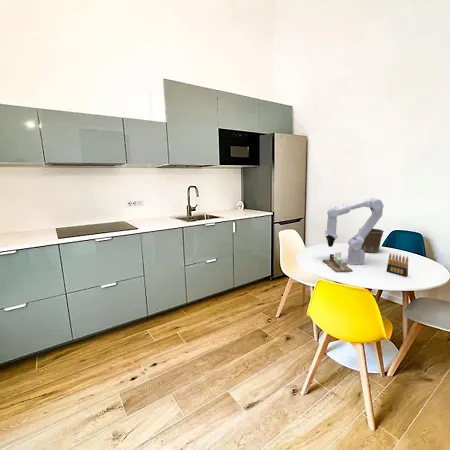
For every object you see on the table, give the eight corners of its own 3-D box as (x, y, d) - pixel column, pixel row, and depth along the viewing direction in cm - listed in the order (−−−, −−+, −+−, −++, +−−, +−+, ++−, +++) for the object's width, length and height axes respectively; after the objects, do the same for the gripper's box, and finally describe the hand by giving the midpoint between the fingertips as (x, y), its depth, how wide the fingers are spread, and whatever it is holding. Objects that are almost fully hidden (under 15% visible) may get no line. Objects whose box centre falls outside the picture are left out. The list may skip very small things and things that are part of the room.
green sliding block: (340, 261, 166) (340, 252, 164) (343, 263, 162) (343, 254, 160) (334, 262, 165) (335, 252, 164) (337, 264, 161) (338, 254, 160)
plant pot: (362, 246, 208) (363, 227, 205) (384, 250, 196) (386, 229, 193) (354, 251, 198) (355, 230, 194) (377, 255, 186) (379, 233, 183)
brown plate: (337, 261, 176) (337, 252, 175) (352, 271, 157) (353, 262, 156) (322, 261, 176) (323, 253, 175) (336, 272, 156) (336, 262, 155)
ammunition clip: (386, 271, 155) (388, 252, 153) (387, 271, 156) (389, 251, 154) (406, 277, 147) (408, 256, 144) (407, 276, 148) (410, 256, 145)
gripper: (321, 224, 179) (320, 243, 181) (330, 228, 164) (329, 249, 167) (331, 224, 179) (330, 243, 182) (341, 228, 165) (339, 249, 167)
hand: (330, 246), depth 174 cm, fingers closed
